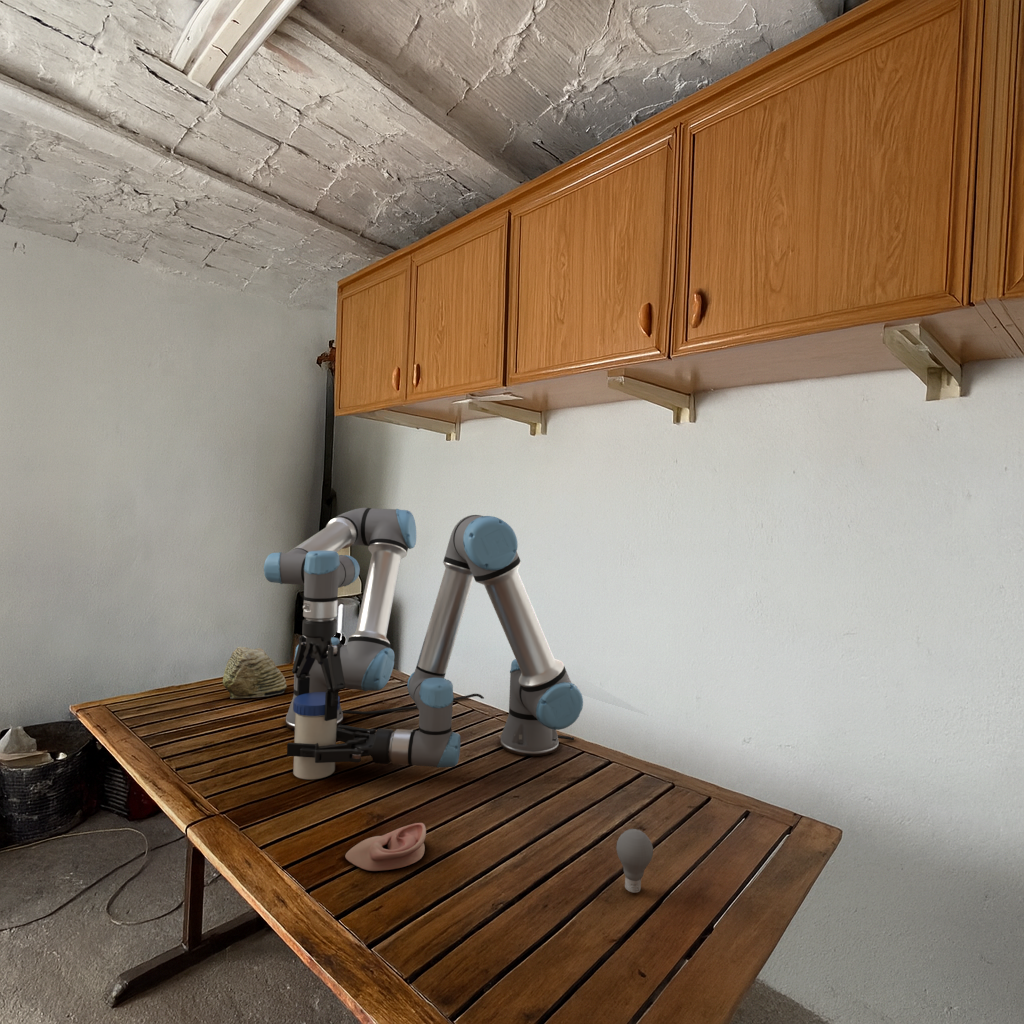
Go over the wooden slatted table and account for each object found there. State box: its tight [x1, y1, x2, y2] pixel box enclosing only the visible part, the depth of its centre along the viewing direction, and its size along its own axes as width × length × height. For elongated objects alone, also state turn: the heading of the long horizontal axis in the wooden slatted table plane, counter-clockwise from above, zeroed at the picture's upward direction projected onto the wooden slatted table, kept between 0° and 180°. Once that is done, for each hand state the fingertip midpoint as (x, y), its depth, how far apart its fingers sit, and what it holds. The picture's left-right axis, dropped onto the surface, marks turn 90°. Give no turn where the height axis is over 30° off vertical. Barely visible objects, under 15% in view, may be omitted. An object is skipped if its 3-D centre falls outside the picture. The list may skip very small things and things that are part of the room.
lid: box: [293, 692, 341, 716], centre depth 146 cm, size 10×10×2 cm
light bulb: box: [615, 828, 654, 894], centre depth 106 cm, size 6×6×10 cm
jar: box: [292, 713, 338, 780], centre depth 146 cm, size 9×9×16 cm
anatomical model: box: [344, 822, 427, 872], centre depth 113 cm, size 13×4×12 cm
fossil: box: [222, 646, 288, 699], centre depth 198 cm, size 9×18×15 cm, turn 132°
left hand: (316, 712), depth 146 cm, fingers open, 11 cm apart
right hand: (296, 740), depth 146 cm, fingers closed on jar, 9 cm apart
